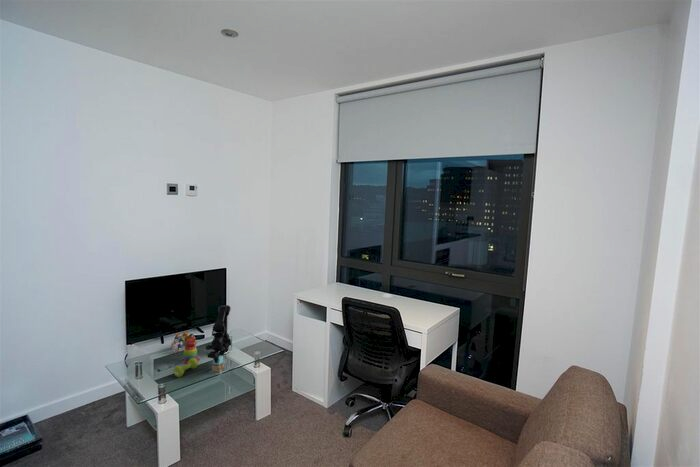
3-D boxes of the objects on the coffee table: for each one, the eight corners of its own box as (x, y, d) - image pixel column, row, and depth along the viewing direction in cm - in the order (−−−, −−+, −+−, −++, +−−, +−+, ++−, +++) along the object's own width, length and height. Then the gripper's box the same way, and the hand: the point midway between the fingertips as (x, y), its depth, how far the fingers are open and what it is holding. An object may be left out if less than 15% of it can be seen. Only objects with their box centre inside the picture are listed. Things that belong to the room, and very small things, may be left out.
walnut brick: (216, 367, 257) (216, 361, 256) (224, 368, 256) (224, 362, 255) (211, 371, 251) (212, 365, 251) (219, 372, 250) (219, 366, 250)
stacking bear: (192, 365, 258) (192, 342, 255) (179, 363, 260) (179, 340, 257) (201, 358, 268) (201, 336, 266) (189, 356, 270) (189, 334, 268)
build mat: (215, 366, 259) (215, 365, 259) (228, 368, 258) (228, 367, 258) (207, 373, 250) (207, 372, 250) (220, 375, 248) (220, 374, 248)
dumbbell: (190, 365, 258) (191, 356, 257) (199, 368, 255) (199, 358, 254) (171, 376, 243) (171, 366, 242) (180, 379, 240) (180, 369, 239)
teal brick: (216, 360, 256) (217, 354, 255) (223, 361, 255) (223, 355, 254) (213, 363, 251) (213, 358, 250) (219, 365, 250) (219, 359, 249)
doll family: (172, 355, 270) (172, 339, 269) (164, 351, 275) (164, 335, 273) (196, 345, 289) (196, 330, 287) (188, 342, 293) (189, 327, 292)
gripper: (215, 334, 261) (215, 353, 263) (200, 344, 243) (200, 366, 245) (229, 336, 259) (228, 356, 261) (215, 347, 241) (214, 368, 243)
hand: (218, 361), depth 253 cm, fingers closed on teal brick, 5 cm apart
